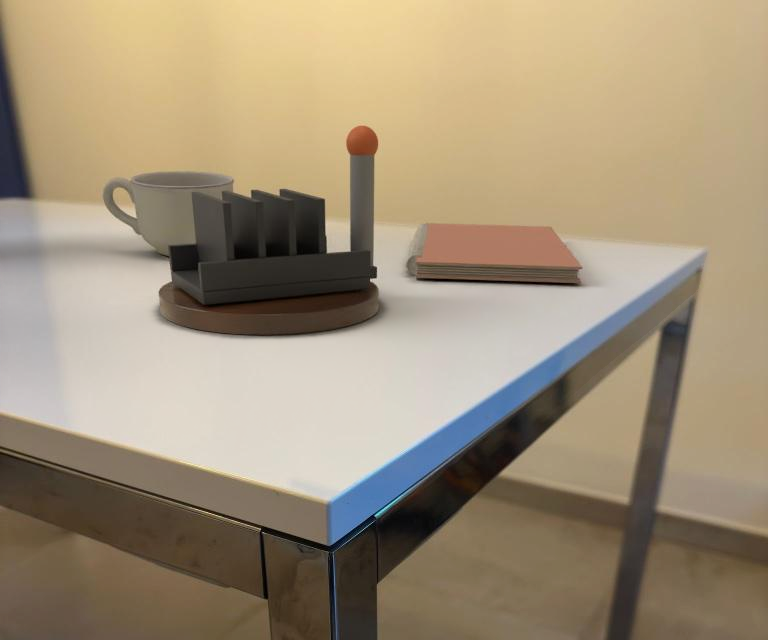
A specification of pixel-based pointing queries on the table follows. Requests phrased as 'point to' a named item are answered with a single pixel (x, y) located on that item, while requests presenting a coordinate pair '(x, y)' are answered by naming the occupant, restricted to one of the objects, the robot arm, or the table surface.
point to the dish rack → (279, 240)
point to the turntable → (270, 312)
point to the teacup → (165, 204)
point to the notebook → (491, 253)
